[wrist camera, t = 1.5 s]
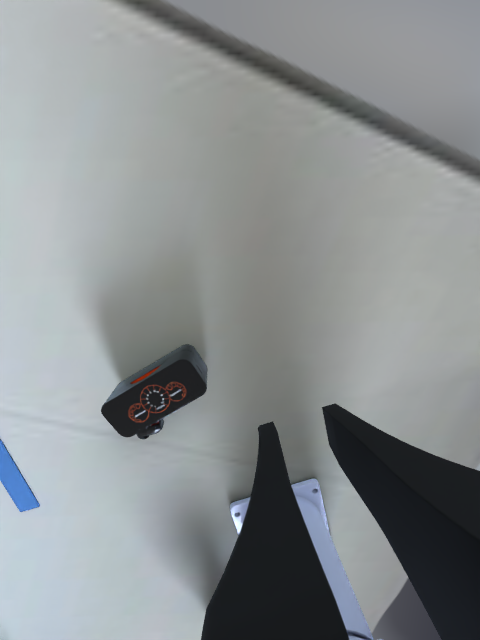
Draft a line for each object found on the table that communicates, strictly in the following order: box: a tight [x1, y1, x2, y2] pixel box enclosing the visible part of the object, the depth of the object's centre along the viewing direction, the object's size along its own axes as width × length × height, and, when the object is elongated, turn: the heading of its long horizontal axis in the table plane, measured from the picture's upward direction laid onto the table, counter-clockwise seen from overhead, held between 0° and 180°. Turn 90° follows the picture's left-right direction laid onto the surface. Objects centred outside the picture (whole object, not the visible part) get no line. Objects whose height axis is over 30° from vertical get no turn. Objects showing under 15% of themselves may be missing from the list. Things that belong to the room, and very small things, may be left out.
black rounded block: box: [101, 344, 208, 439], centre depth 17 cm, size 5×7×3 cm, turn 120°
